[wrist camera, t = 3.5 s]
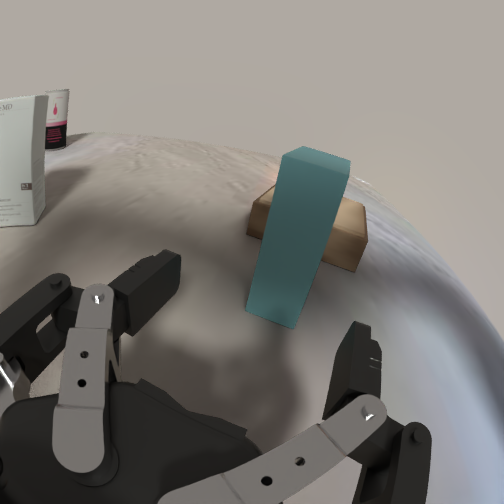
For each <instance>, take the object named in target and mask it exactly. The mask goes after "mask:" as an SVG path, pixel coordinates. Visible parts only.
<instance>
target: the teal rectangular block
mask: <svg viewBox="0 0 504 504" xmlns="http://www.w3.org/2000/svg"><path fill="white" fill-rule="evenodd" d="M349 172H350V161H349V160H346V159H343V158H340V157H337V156H334V155H331V154H328V153H325V152H322V151H318V150H315V149H312V148H308V147H304V146H302V147H300V148H298V149H295V150H293V151H291V152H289V153H286V154H284V155H283V156H282V160H281V165H280V169H279V173H278V177H277V181H276V186H275V190H274V194H273V198H272V202H271V206H270V211H269V215H268V219H267V223H266V227H265V231H264V235H263V240H262V244H261V248H260V252H259V256H258V260H257V264H256V268H255V272H254V276H253V280H252V285H251V289H250V293H249V297H248V301H247V305H246V309H245V311H247V312H249V313H252V314H254V315H257V316H260V317H262V318H265V319H267V320H270V321H273V322H275V323H278V324H281V325H283V326H286V327H289V328H291V329H294V327H295V325H296V322H297V320H298V317H299V315H300V313H301V310H302V308H303V305H304V303H305V300H306V298H307V295H308V293H309V290H310V287H311V285H312V282H313V280H314V277H315V274H316V272H317V269H318V266H319V264H320V261H321V258H322V255H323V253H324V250H325V247H326V244H327V242H328V239H329V236H330V233H331V230H332V227H333V224H334V221H335V218H336V215H337V212H338V209H339V206H340V203H341V200H342V197H343V194H344V191H345V188H346V185H347V181H348V178H349Z"/></svg>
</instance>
